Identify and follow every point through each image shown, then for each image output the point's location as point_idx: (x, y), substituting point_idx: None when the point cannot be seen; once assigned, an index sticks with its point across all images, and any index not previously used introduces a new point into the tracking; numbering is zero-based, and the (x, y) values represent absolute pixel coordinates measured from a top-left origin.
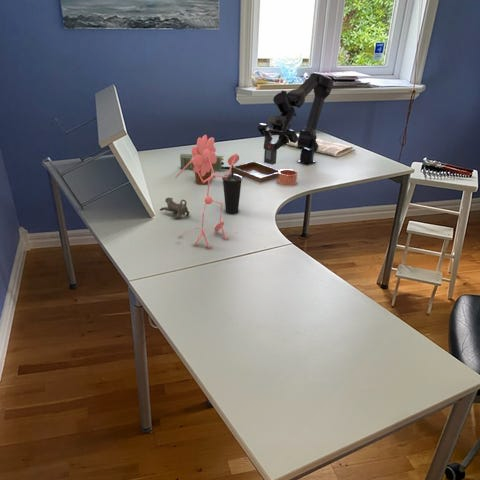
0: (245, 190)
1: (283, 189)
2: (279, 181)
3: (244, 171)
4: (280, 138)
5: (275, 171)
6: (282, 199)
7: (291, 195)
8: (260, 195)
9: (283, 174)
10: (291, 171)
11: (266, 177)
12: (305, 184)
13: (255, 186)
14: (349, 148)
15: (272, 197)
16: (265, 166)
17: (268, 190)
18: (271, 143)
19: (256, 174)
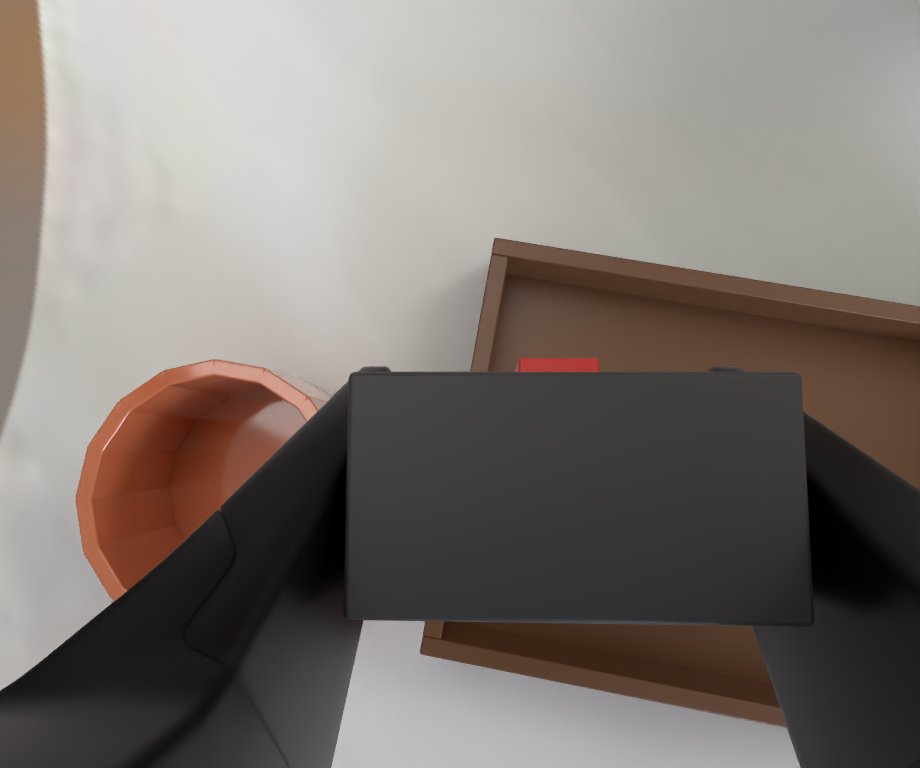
0: (495, 8)
1: (201, 296)
2: (302, 381)
3: (808, 296)
4: (54, 712)
5: (539, 650)
6: (68, 64)
7: (49, 210)
8: (296, 4)
9: (209, 370)
10: None
11: (475, 347)
12: (85, 599)
13: (486, 167)
14: None
15: (173, 41)
16: (746, 697)
17: (310, 166)
18: (475, 379)
19: None
